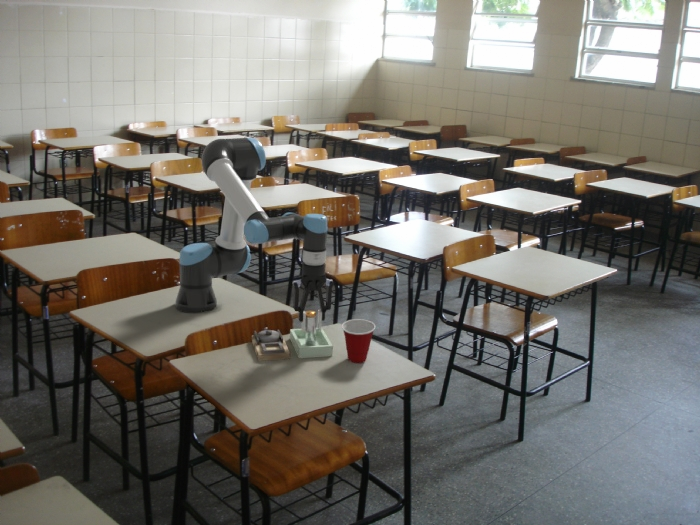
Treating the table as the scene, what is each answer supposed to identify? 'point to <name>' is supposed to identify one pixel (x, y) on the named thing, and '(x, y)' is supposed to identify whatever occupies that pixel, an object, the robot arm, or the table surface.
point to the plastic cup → (358, 338)
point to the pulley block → (270, 345)
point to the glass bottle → (310, 328)
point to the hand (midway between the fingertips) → (311, 329)
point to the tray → (319, 350)
